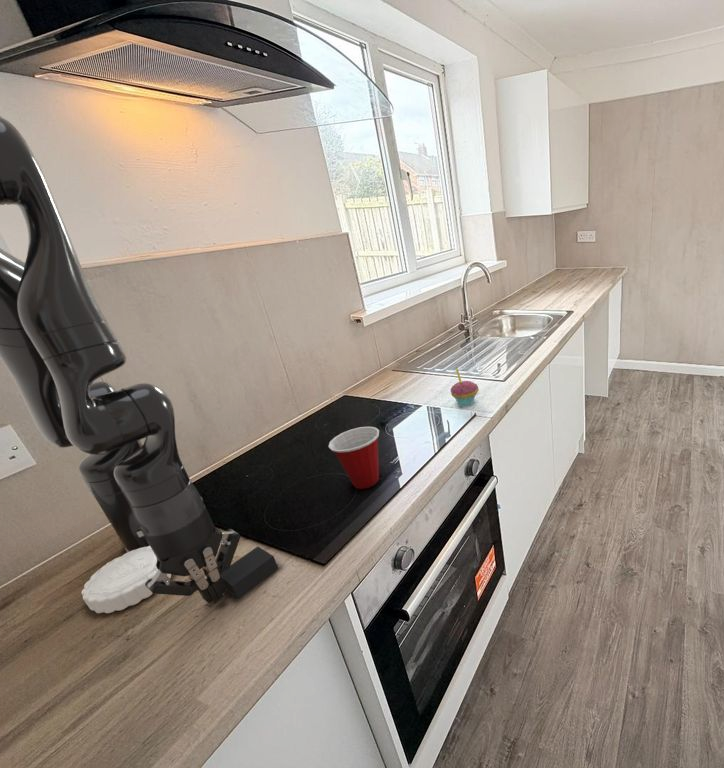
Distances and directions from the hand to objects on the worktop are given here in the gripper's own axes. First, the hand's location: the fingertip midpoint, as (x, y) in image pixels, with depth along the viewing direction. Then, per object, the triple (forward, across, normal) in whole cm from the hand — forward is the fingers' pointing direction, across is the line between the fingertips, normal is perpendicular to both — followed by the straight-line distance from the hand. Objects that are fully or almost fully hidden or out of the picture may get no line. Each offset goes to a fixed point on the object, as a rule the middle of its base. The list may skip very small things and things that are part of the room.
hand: (216, 598), depth 68 cm
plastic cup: (+1, -34, -3) cm, 34 cm away
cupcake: (+1, -76, -6) cm, 76 cm away
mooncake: (+1, +5, -18) cm, 19 cm away
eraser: (+1, -5, 0) cm, 5 cm away
